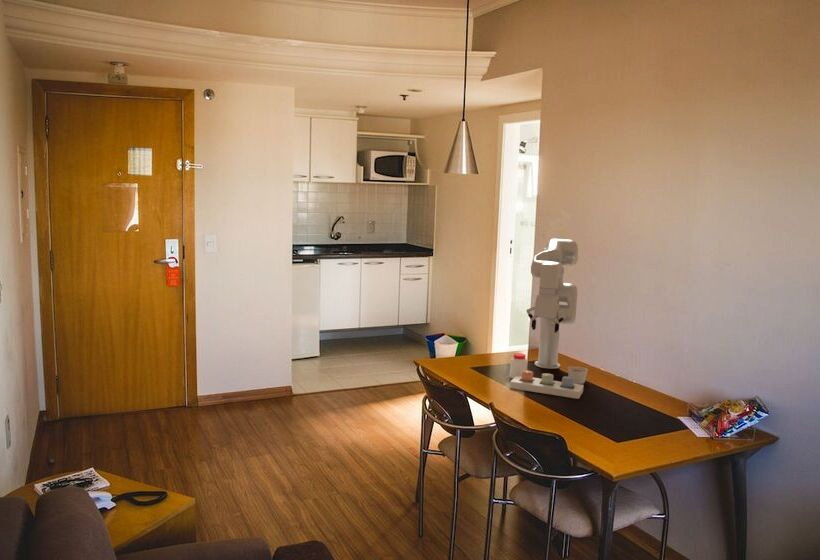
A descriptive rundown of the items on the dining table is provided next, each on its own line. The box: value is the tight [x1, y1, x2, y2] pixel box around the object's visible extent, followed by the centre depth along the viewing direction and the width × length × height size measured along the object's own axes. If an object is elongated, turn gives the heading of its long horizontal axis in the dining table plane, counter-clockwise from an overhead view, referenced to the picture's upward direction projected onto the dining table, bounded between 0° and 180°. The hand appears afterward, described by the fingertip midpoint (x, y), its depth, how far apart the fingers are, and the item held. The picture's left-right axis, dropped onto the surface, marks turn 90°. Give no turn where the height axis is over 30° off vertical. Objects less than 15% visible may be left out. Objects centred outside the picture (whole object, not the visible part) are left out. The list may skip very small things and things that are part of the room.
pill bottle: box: [509, 352, 529, 380], centre depth 318 cm, size 8×8×11 cm
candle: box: [567, 365, 589, 385], centre depth 315 cm, size 9×9×6 cm
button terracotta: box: [521, 369, 534, 382], centre depth 304 cm, size 5×5×4 cm
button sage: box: [541, 373, 554, 385], centre depth 300 cm, size 5×5×4 cm
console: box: [509, 375, 585, 400], centre depth 301 cm, size 12×30×3 cm, turn 68°
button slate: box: [561, 375, 574, 389], centre depth 297 cm, size 5×5×4 cm
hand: (544, 330), depth 296 cm, fingers open, 9 cm apart
